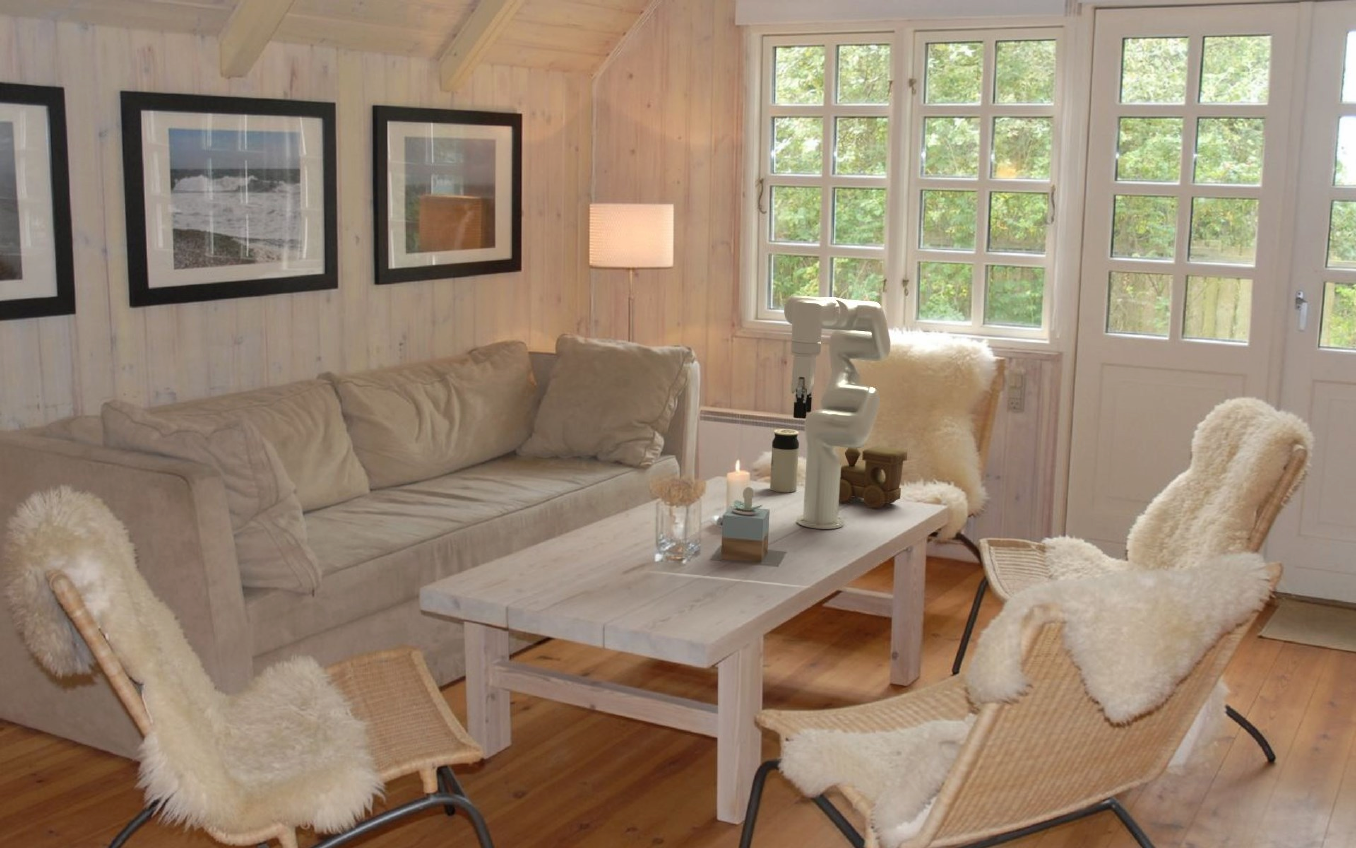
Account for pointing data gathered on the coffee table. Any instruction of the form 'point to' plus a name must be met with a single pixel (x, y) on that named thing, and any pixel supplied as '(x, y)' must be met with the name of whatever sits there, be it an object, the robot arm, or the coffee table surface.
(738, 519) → the top block
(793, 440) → the travel mug
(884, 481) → the wooden toy train
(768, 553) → the mat
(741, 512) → the pacifier
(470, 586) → the coffee table surface
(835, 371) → the robot arm
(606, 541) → the coffee table surface
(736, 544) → the bottom block
